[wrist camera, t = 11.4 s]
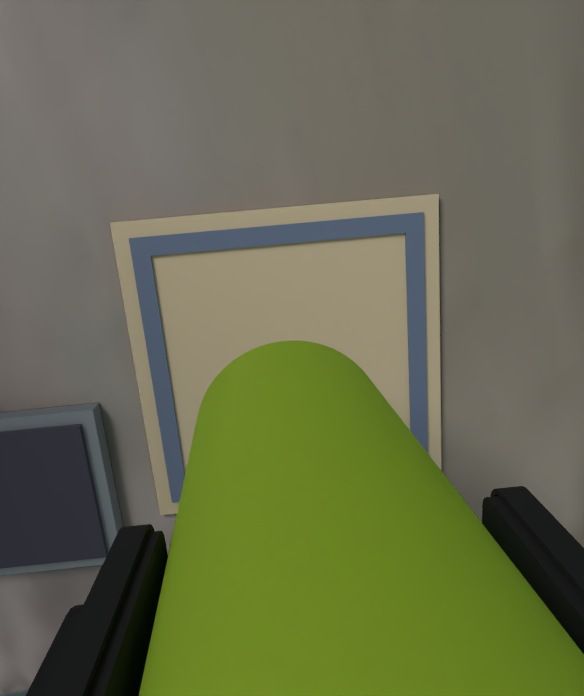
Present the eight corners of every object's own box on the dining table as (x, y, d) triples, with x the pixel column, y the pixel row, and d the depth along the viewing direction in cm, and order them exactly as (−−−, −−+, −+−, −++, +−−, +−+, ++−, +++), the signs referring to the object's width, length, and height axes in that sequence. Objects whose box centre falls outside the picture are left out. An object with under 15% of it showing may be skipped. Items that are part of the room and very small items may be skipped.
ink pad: (-120, 424, 23) (-141, 435, 22) (99, 402, 24) (90, 412, 22) (-74, 572, 25) (-90, 589, 24) (127, 551, 26) (121, 566, 24)
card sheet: (111, 222, 22) (109, 222, 21) (436, 194, 22) (439, 193, 22) (161, 511, 25) (159, 517, 25) (439, 482, 26) (442, 487, 25)
